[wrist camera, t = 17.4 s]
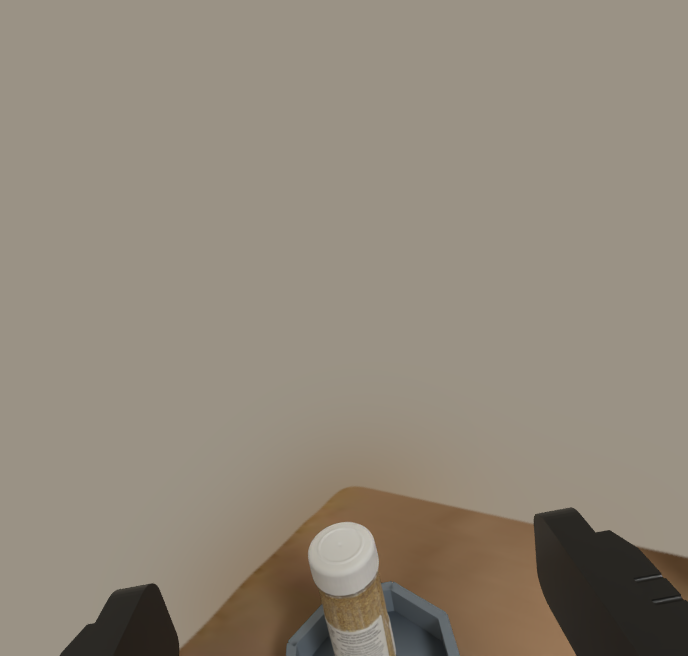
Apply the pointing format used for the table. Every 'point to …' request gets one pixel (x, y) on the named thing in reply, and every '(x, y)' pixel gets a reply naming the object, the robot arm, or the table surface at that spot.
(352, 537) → the spice jar
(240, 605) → the table surface
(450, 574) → the table surface
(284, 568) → the table surface
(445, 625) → the bowl
